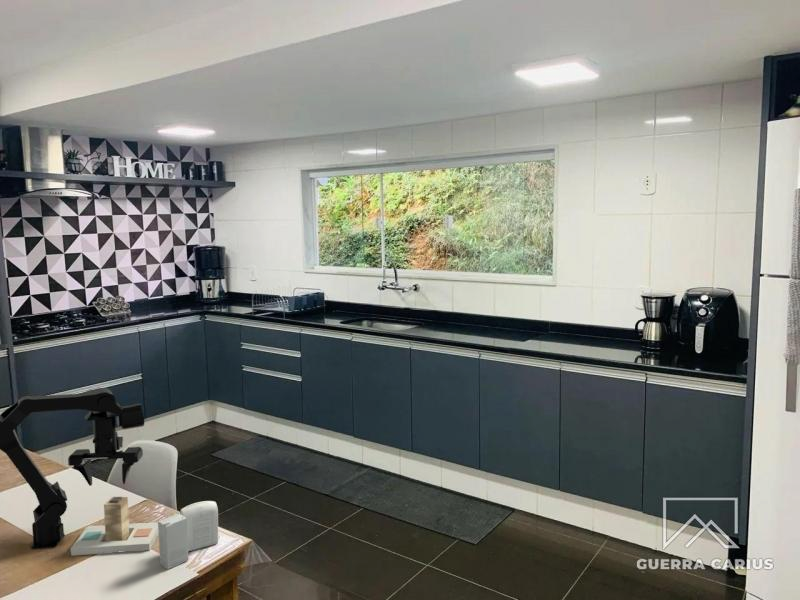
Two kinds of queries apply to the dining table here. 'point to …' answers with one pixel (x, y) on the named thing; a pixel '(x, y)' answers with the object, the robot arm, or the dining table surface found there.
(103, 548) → the panel
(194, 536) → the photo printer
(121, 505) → the plug
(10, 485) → the dining table surface
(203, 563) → the dining table surface
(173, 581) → the dining table surface
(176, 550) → the skincare box
